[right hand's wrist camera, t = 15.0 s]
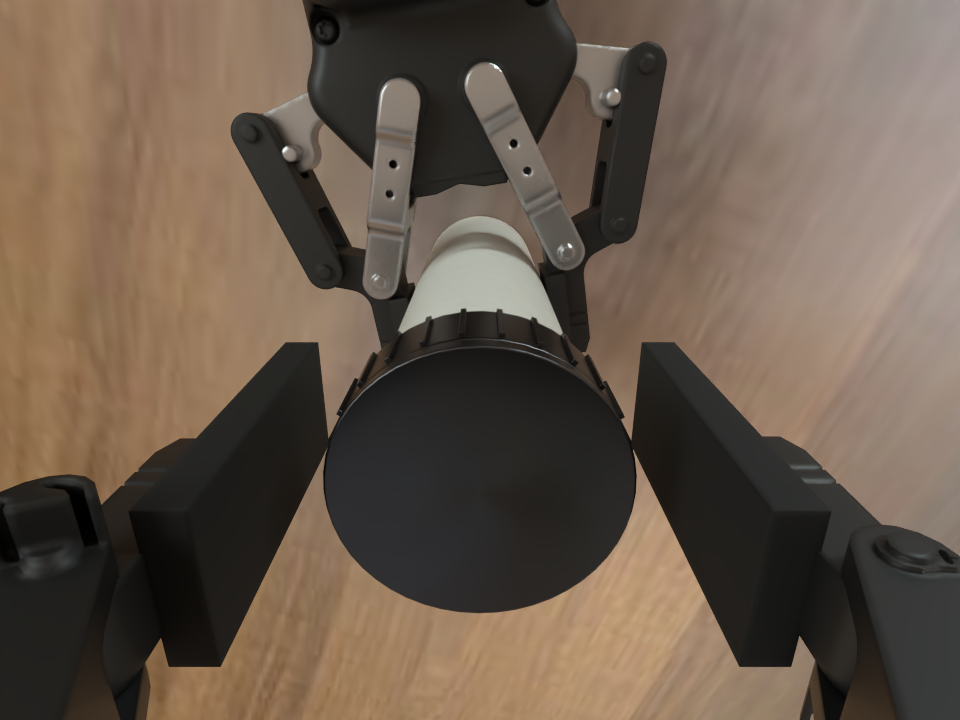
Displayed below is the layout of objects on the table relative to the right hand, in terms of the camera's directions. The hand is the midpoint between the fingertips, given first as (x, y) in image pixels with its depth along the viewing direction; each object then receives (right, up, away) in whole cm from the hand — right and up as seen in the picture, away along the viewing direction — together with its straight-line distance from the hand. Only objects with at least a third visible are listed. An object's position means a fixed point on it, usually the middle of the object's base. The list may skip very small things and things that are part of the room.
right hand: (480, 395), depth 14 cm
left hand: (0, 0, +8) cm, 8 cm away
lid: (0, -1, -3) cm, 4 cm away
